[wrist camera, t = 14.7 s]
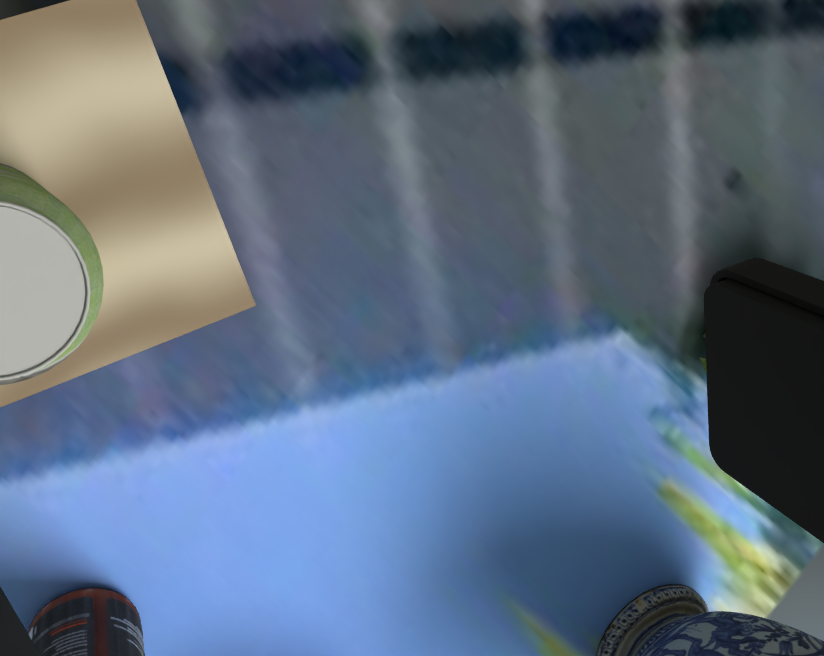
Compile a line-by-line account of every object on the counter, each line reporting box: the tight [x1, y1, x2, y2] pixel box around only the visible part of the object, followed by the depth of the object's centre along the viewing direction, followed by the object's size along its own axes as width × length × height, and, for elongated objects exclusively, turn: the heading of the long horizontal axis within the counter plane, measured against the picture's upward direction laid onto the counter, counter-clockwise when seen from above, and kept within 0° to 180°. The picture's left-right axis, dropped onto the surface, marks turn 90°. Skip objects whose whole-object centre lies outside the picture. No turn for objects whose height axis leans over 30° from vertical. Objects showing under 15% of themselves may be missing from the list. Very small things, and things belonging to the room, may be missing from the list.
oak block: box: [0, 0, 256, 407], centre depth 33 cm, size 14×14×5 cm
